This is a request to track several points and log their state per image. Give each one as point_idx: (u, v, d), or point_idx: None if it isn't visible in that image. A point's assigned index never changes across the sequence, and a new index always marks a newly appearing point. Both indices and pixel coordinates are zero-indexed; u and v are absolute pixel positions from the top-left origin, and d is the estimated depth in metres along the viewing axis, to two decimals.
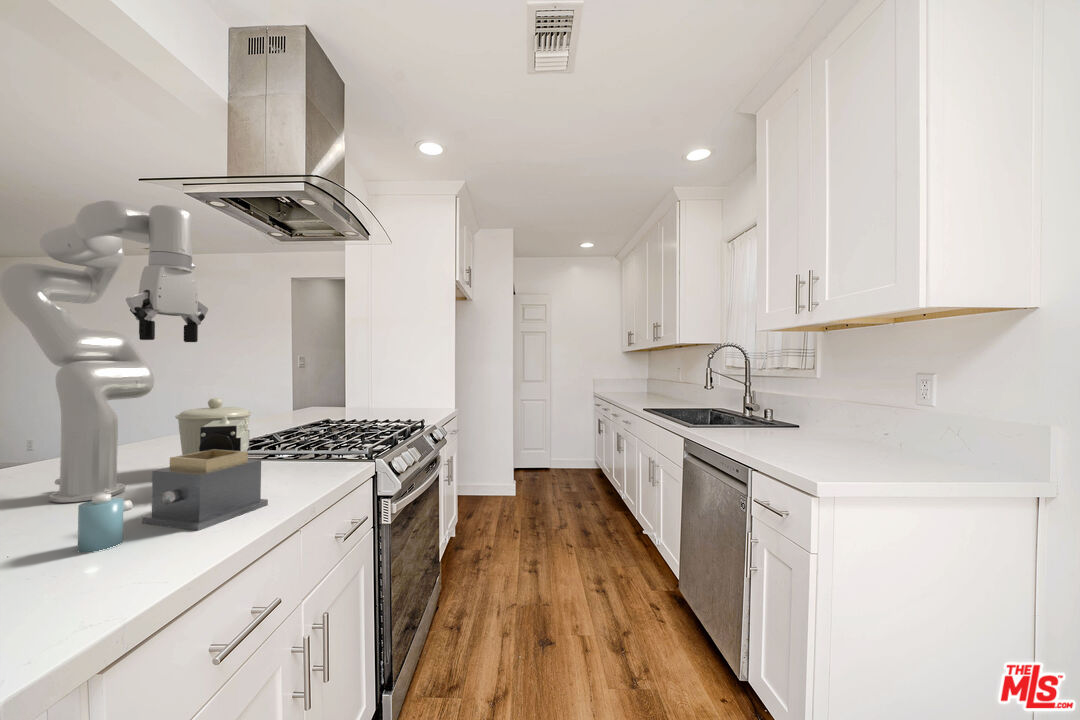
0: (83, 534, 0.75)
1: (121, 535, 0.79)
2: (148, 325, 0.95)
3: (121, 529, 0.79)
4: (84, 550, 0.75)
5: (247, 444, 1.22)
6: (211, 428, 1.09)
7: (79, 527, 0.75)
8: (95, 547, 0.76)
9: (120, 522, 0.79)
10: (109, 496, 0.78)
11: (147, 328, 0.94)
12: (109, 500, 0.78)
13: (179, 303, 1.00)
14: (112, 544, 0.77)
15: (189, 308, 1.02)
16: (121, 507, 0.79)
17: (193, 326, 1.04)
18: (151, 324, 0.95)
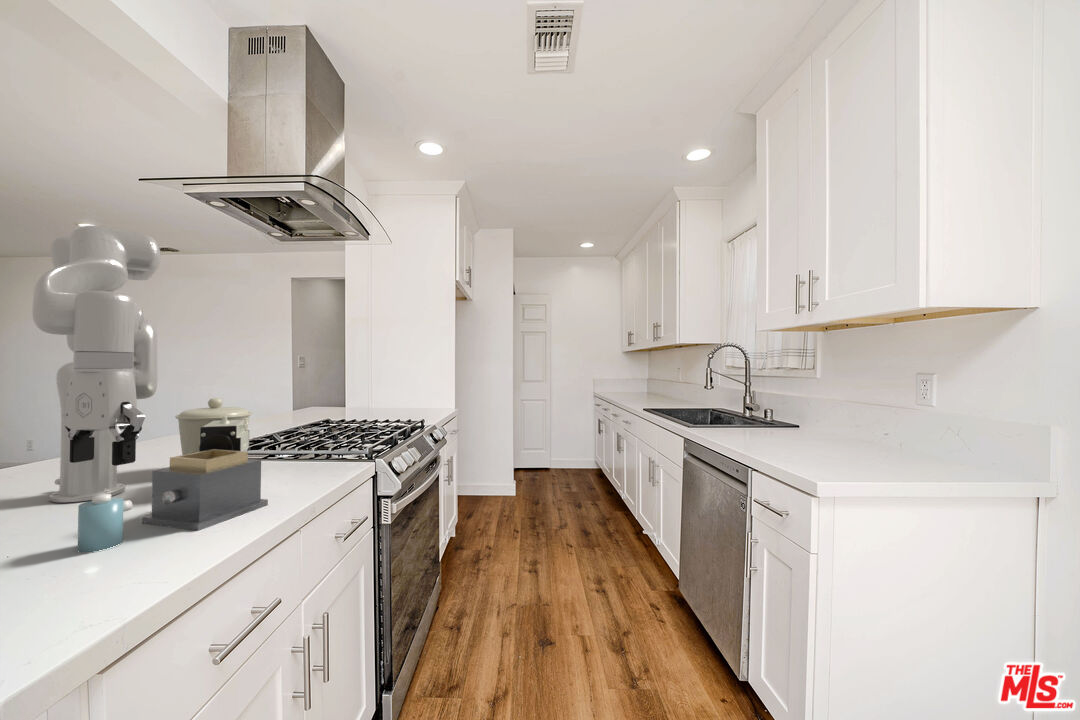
0: (83, 534, 0.75)
1: (121, 535, 0.79)
2: None
3: (121, 529, 0.79)
4: (84, 550, 0.75)
5: (247, 444, 1.22)
6: (211, 428, 1.09)
7: (79, 527, 0.75)
8: (95, 547, 0.76)
9: (120, 522, 0.79)
10: (109, 496, 0.78)
11: None
12: (109, 500, 0.78)
13: None
14: (112, 544, 0.77)
15: None
16: (121, 507, 0.79)
17: (92, 439, 0.80)
18: (134, 443, 0.78)
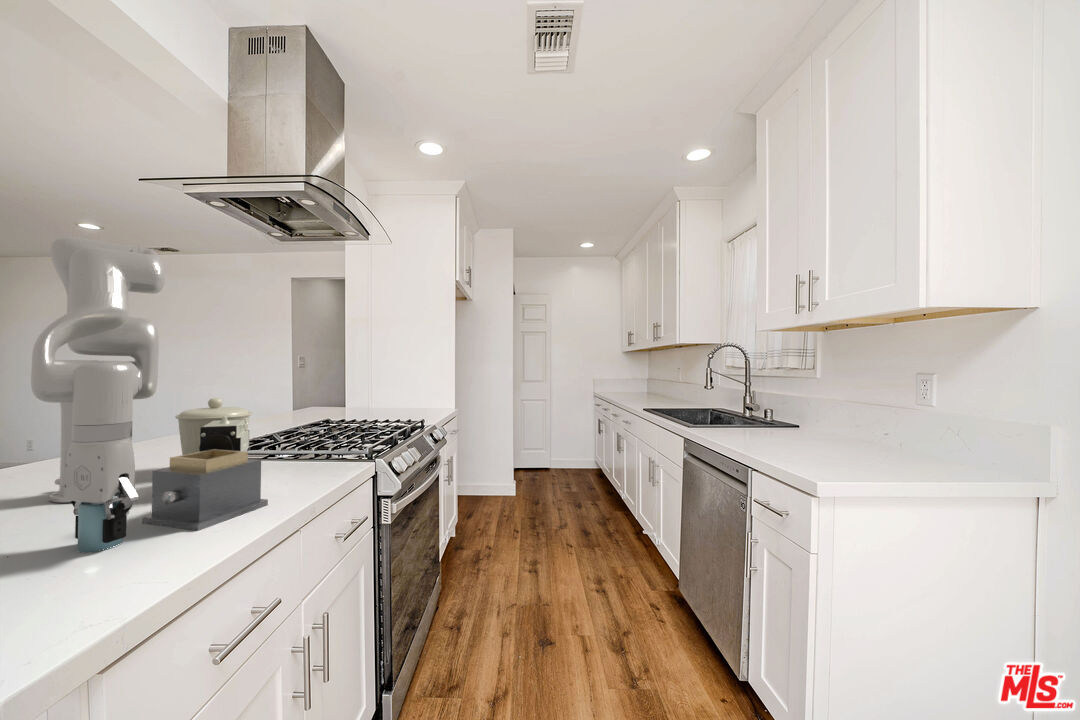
0: (83, 534, 0.75)
1: None
2: None
3: None
4: (84, 550, 0.75)
5: (247, 444, 1.22)
6: (211, 428, 1.09)
7: (79, 527, 0.75)
8: (95, 547, 0.76)
9: None
10: None
11: None
12: None
13: None
14: (112, 544, 0.77)
15: None
16: None
17: None
18: (125, 518, 0.79)
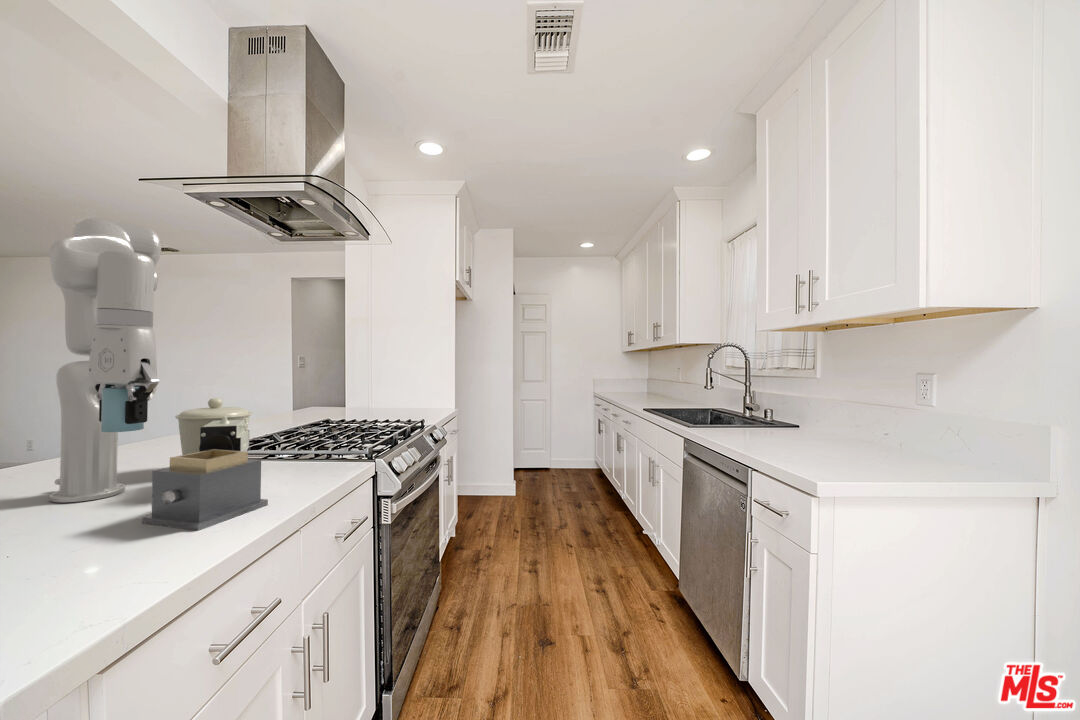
0: (106, 414, 0.78)
1: None
2: None
3: None
4: (107, 429, 0.78)
5: (247, 444, 1.22)
6: (211, 428, 1.09)
7: (103, 408, 0.78)
8: (118, 427, 0.78)
9: None
10: None
11: None
12: None
13: None
14: (133, 427, 0.80)
15: None
16: None
17: None
18: (146, 403, 0.81)
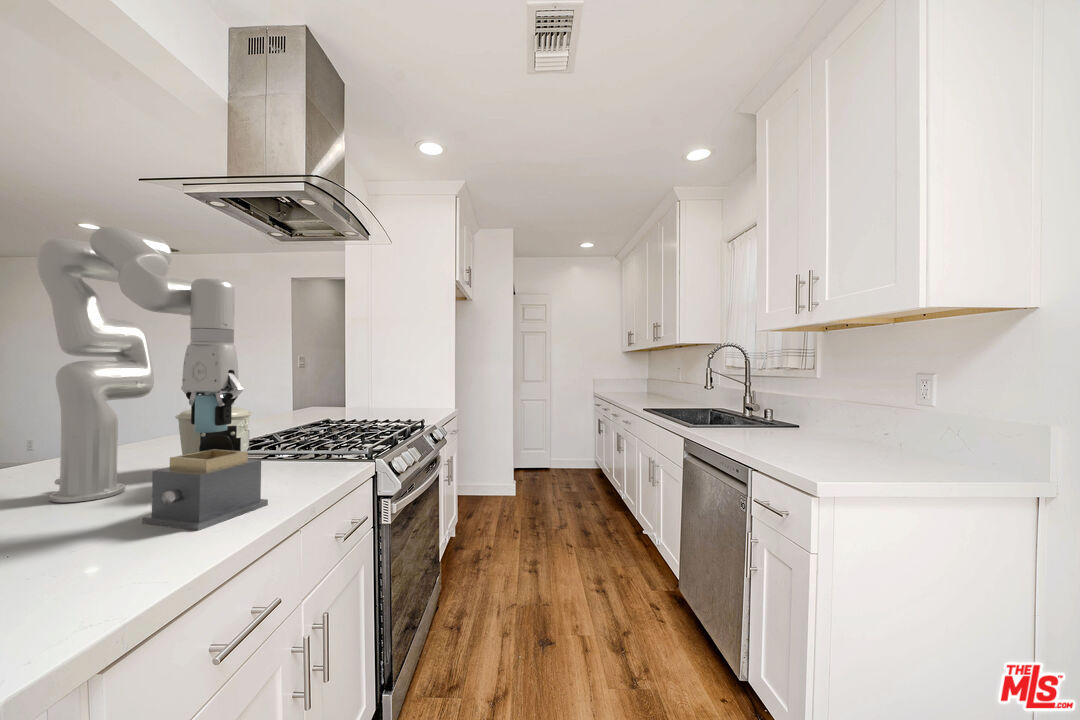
0: (200, 417, 0.92)
1: None
2: None
3: None
4: (201, 430, 0.92)
5: (247, 444, 1.22)
6: None
7: (196, 412, 0.92)
8: (209, 428, 0.93)
9: None
10: None
11: None
12: None
13: None
14: (221, 428, 0.94)
15: None
16: None
17: None
18: (230, 408, 0.96)
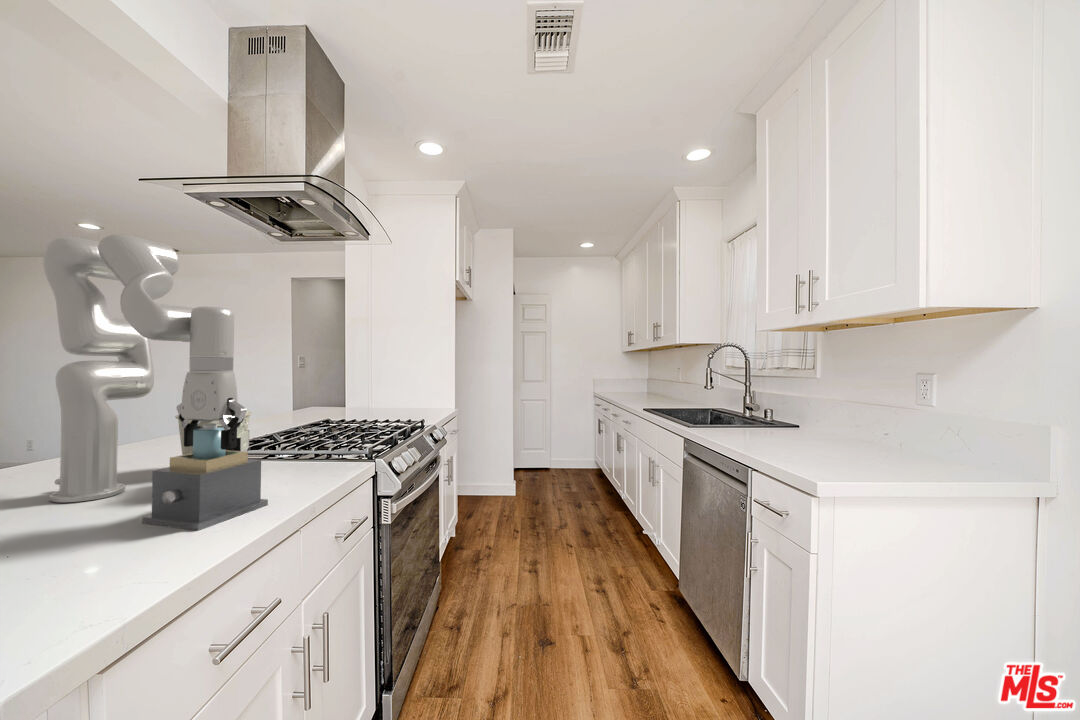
0: (198, 452, 0.92)
1: None
2: None
3: (225, 452, 0.96)
4: None
5: (247, 444, 1.22)
6: None
7: (194, 447, 0.93)
8: None
9: None
10: (216, 424, 0.95)
11: None
12: (216, 427, 0.95)
13: None
14: None
15: None
16: None
17: (199, 428, 0.97)
18: (236, 431, 0.95)
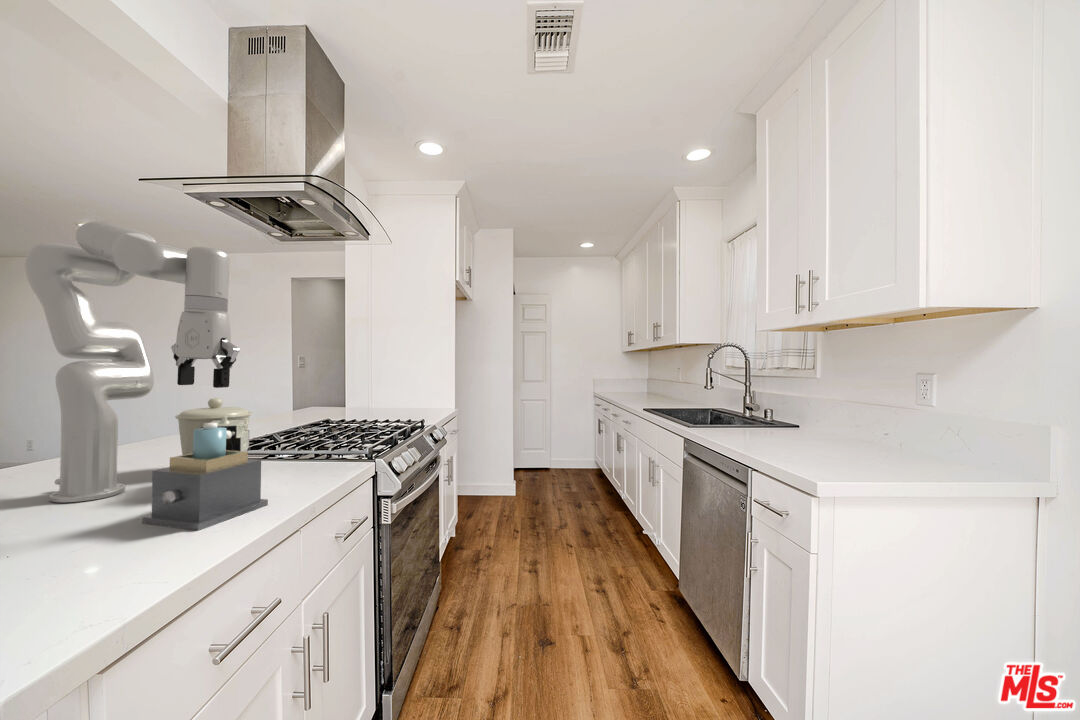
0: (198, 452, 0.92)
1: None
2: None
3: (225, 452, 0.96)
4: None
5: (247, 444, 1.22)
6: None
7: (194, 447, 0.93)
8: None
9: (224, 446, 0.96)
10: (216, 424, 0.95)
11: None
12: (216, 427, 0.95)
13: None
14: None
15: None
16: (225, 433, 0.96)
17: (193, 368, 0.99)
18: (229, 371, 0.97)
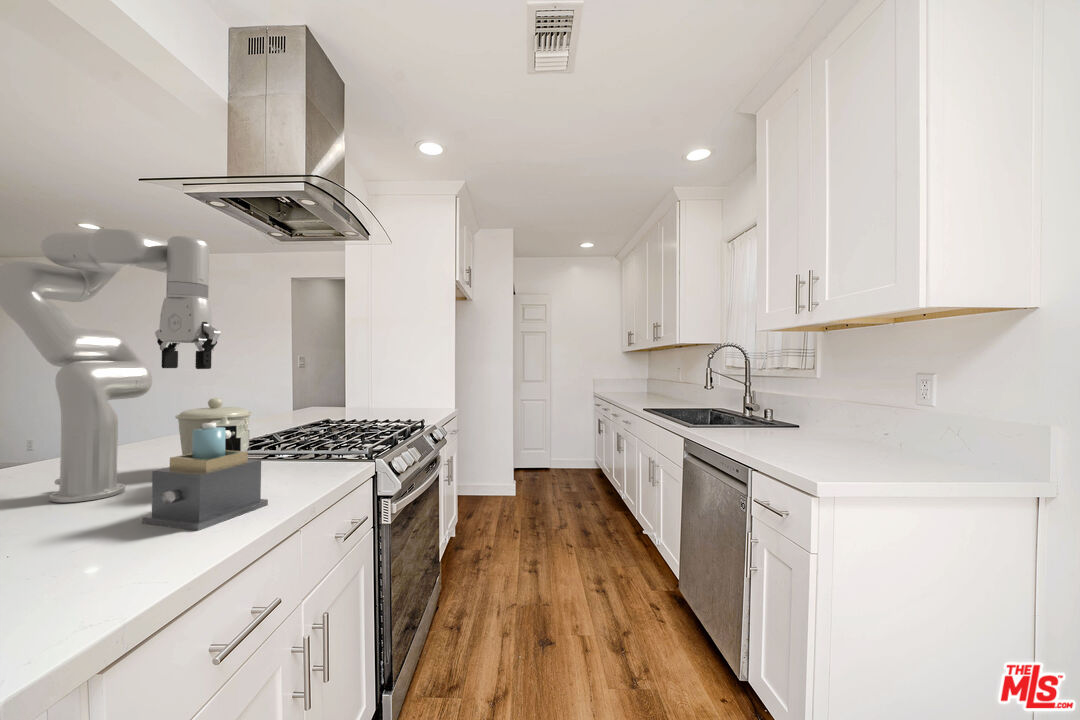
0: (197, 452, 0.92)
1: None
2: None
3: (224, 451, 0.96)
4: None
5: (247, 444, 1.22)
6: None
7: (194, 447, 0.93)
8: None
9: (223, 445, 0.96)
10: (215, 424, 0.95)
11: None
12: (215, 427, 0.95)
13: None
14: None
15: None
16: (224, 433, 0.96)
17: (176, 352, 1.04)
18: (210, 354, 1.02)
